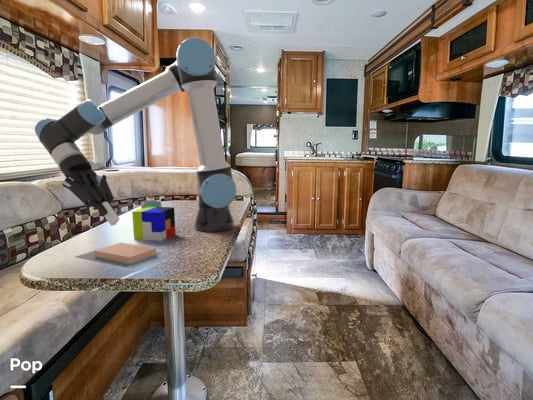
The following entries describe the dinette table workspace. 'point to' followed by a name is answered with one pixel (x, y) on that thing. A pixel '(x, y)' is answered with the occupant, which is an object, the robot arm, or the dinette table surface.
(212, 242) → the dinette table surface
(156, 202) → the cup
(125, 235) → the dinette table surface
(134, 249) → the tile
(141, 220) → the puzzle toy
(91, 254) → the mat
